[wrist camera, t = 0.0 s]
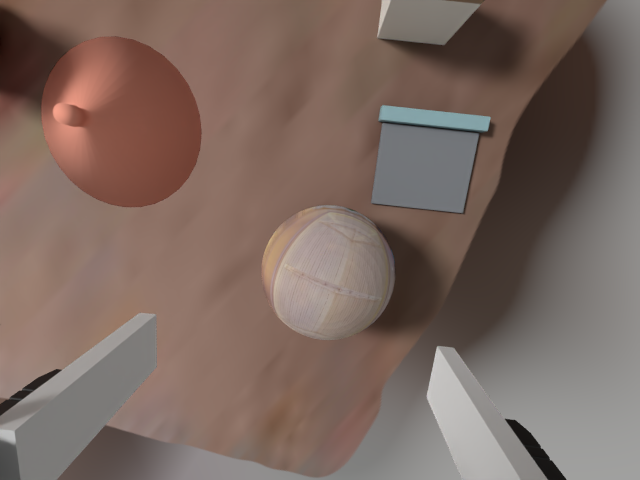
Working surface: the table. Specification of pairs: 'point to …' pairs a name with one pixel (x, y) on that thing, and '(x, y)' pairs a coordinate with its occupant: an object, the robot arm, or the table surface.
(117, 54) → the ceramic vessels
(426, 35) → the cream block
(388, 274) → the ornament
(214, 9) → the table surface
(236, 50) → the table surface
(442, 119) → the strip
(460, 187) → the mat
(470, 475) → the robot arm
